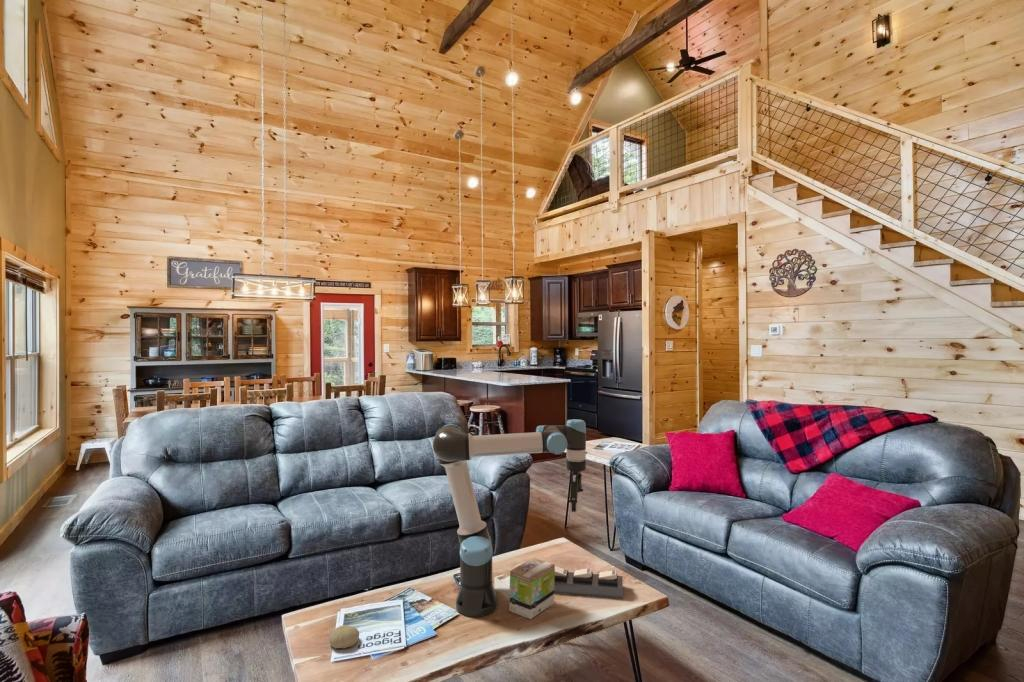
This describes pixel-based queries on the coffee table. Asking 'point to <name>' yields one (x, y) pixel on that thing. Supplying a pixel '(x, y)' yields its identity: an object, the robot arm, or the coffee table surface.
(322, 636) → the coffee table surface
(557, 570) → the rocker
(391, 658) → the coffee table surface
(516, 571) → the tea box
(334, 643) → the brown kiwi fruit
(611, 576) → the rocker
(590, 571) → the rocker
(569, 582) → the rocker switch panel
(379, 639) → the coffee table surface
